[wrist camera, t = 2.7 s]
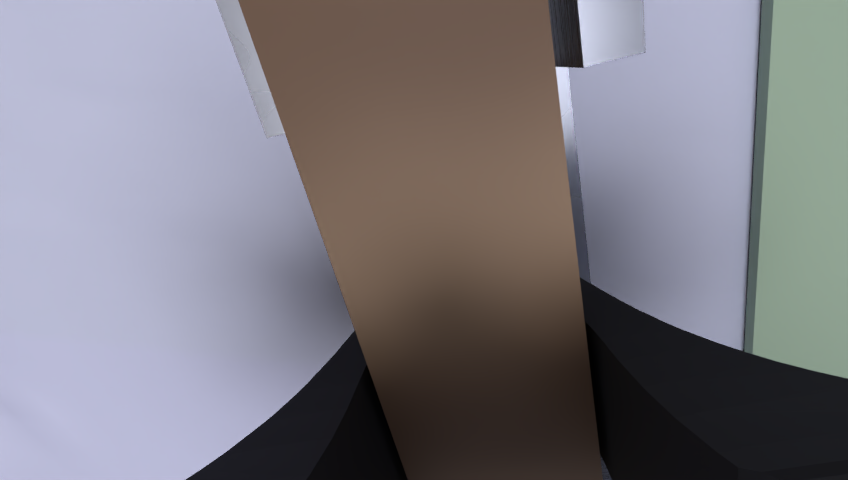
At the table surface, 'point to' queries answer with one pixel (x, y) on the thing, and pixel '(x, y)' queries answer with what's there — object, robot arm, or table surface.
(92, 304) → the table surface
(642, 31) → the standards
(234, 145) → the table surface
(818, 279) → the mat
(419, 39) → the rail
